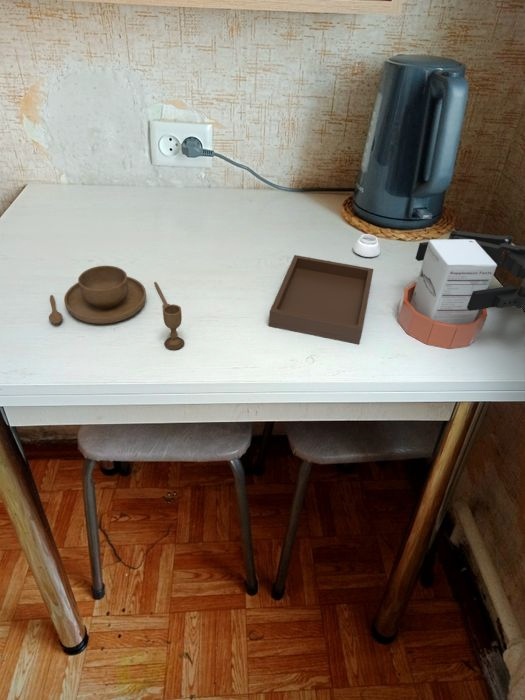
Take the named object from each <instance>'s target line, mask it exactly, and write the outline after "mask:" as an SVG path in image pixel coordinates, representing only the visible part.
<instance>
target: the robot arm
mask: <svg viewBox="0 0 525 700" xmlns="http://www.w3.org/2000/svg"><path fill="white" fill-rule="evenodd" d="M453 239H471V240H475V241H476V242H477V243H478V244H479V245H480V246H481V248H482V249H483V250H484V251H485V252H486V253H487V254H488V255H489V256H490V258H491V259H492V260H493V261H494V262H495V263H496V264H497V267H498V268H502V269H505V270H507V271H508V272H510V273H511V274H512V276H514V277H515V278H519V279H522V282H521V284H520V285H519V288H517V287H516V286H515V285H508V286H500V287H494V288H493V287H492V288H488V289H485V290H477V291H473V292H472V295H471V298H470V300H469V303H468V306H467V309H468V310H469V311H473V310H480V309H486V308H487V309H492V308H496V309H506V308H512V307H513V308H515V309H521V308H522V309H523V310H525V245H518V244H517V245H516V244H515V243H513V241H514V236H511V235H494V234H487V233H477V232H469V231H462V230H451V231H450V233H449V236H448V239H447V240H453ZM428 243H429V241H423V242H419V244H418V248H417V252H416V255H415V258H414V259H415V260H416V261H418V262H420V261H422V262H423V260H424V257H425V253H426V250H427V246H428ZM503 254H505V256H504V259H503V260H501V259H502V257H503ZM497 267H496V268H497ZM517 290H518V291H517Z"/></svg>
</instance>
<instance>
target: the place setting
mask: <svg viewBox="0 0 525 700" xmlns="http://www.w3.org/2000/svg"><path fill="white" fill-rule="evenodd" d="M153 283H154V287H155V289H156V291H157V292H158V294H159V296H160V299H161V300H162V302H163V304H162V317H163V323H164V325H165V327H167V328H168V329H169V330H170V333H169V336H170V337H168V338H166V339H165V340H164V343H163V344H164V347H165V348H166V349H168V350H170V351H177V350H180V349H182V348H184V346H185V340H184V339H183V338H182V337H180V336H179V334H178V331H177V329H178V328H179V327H180V326H181V324H182V320H183V319H182V318H183V317H182V309H181V306H180V305H178V304H169V303H168V302H167V299H166V298H165V295H164V294H163V292H162V290H161V287H160V286H159V284H158V283H157V281H154V282H153ZM63 300H64V305H65V306H64V307H65V308H66V310H67V311H68V313H70V315H72V316H73V317H74V318H76V319H78V320H80V321H82V322H86V323H90V324H104V325H105V324H112V323H113V324H114V323H118V322H120V321H124V320H126V319H128V318H130V317H132V316H134V315H135V314H137V313H139V311H140V310H141V309H142V308H143V306H144V305H145V304H146V303H145V302H146V301H147V290H146V288H145V286H144V285H143V283H141V282H140V280H137V279H136V278H133V277H130V276H128V275H127V272H126V271H125V270H123V269H122V268H121V267H118V266H115V265H114V266H113V265H99V266H93V267H91V268H88V269H86V270H84V271H83V272H82V273H81V274H80V275H79V276H78V282H76V283H74V284H73V285H72V286H71V287H69V288H68V289H67V291H66V293H65V295H64V299H63ZM49 302H50V305H51V309H52V311H51V312H50V314H49V315H48V320H49V322H50V323H52V324H60V323H61V321H62V320H63V317H64V316H63V314H62V313H61V312H59V311H58V310H57V308H56V301H55V297H54V295H53V294H50V295H49Z"/></svg>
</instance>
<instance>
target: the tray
mask: <svg viewBox="0 0 525 700" xmlns="http://www.w3.org/2000/svg"><path fill="white" fill-rule="evenodd" d="M288 266H289V267H288V268H287V271H286V274H285V275H284V278H283V280H282V282H281V284H280V287H279V289H278V292H277V294H276V295H275V299H274V301H273V303H272V305H271V308H270V310H269V318H268V327H270V328H271V327H272V328H276V329H279V330H280V329H281V330H286V331H290V332H295V333H301V334H305V335H311V336H315V337H321V338H326V339H331V340H335V341H341V342H345V343H349V344H350V343H351V344H356V345H360V343H361V338H362V334H363V330H364V324H365V317H366V314H367V313H366V312H367V307H368V302H369V296H370V291H371V286H372V281H373V273H374V268H370V267H366V266H365V267H364V266H360V265H354V264H348V263H342V262H336V261H330V260H325V259H319V258H314V257H310V256H309V257H308V256H304V255H303V256H302V255H297V254H294V255H293V258H292V260H291V261H290V264H289V265H288Z"/></svg>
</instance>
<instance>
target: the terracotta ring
mask: <svg viewBox="0 0 525 700" xmlns="http://www.w3.org/2000/svg"><path fill="white" fill-rule="evenodd" d="M416 283H417V281H414V282H412V283H411V284H409V285H408V286H407V287H405V288H404V289H403V292H402V296H401V299H400V304H399V306H398V310H397V323H398V324H399V325H400V327H401V328H402V330H403V331H404V332H405V333H406V334H407V335H408V336H410V337H412V338H414V339H415V340H418V341H419V342H421V343H422V344H425V345H428V346H433V347H439V348H443V349H448V350H449V349H450V350H451V349H458V348H459V349H460V348H465V347H469V346H471V345H472V344H473V343H474V342H476V340H477V339H479V337H480V336H481V333H482V330H483V327H484V326H485V324H486V320H487V318H488V308H486V309H480V310H479V311H478V313H477V316H476V318H475V321H474V323H466V324H459V325H454V324H449V323H444V322H439V321H434V320H432V319H430V318H428V317H427V316H425V315H423V314H421V313H419V312H417V311H416V310H415V309H414V308H413V306H412V305H411V304H410V303H411V300H412V296H413V293H414V290H415V286H416Z"/></svg>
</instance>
